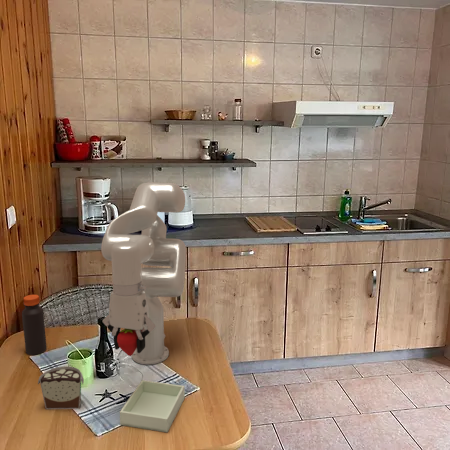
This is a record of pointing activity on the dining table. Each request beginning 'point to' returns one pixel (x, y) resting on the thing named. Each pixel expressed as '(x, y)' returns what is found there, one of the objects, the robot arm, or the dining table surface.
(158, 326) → the robot arm
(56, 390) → the food container
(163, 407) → the serving tray
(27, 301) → the bottle
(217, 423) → the dining table surface
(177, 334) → the dining table surface
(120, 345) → the strawberry
